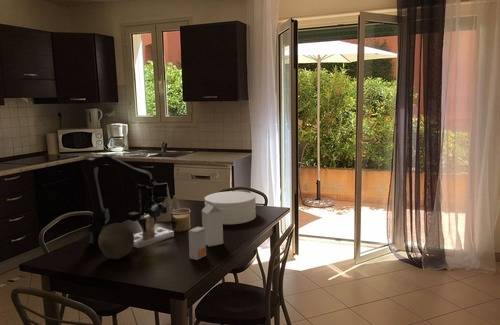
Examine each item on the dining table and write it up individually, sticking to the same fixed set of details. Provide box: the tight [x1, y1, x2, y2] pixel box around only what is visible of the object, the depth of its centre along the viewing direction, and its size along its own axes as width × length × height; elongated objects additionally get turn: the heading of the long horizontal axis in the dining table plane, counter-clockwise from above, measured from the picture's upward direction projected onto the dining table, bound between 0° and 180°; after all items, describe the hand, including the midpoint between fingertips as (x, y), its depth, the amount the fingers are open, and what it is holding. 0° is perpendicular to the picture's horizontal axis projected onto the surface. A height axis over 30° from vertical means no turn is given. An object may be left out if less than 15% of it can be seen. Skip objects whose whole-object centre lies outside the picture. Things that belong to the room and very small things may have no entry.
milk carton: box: [201, 201, 224, 247], centre depth 177 cm, size 7×7×19 cm
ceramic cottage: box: [155, 194, 181, 223], centre depth 221 cm, size 16×16×15 cm
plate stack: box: [204, 190, 257, 225], centre depth 219 cm, size 28×28×12 cm
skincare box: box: [188, 226, 207, 261], centre depth 162 cm, size 6×4×12 cm
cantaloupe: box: [98, 222, 134, 260], centre depth 162 cm, size 14×14×15 cm
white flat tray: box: [132, 226, 175, 249], centre depth 186 cm, size 20×12×3 cm, turn 138°
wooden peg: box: [141, 215, 156, 237], centre depth 185 cm, size 4×4×10 cm
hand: (148, 230), depth 185 cm, fingers closed on wooden peg, 4 cm apart
